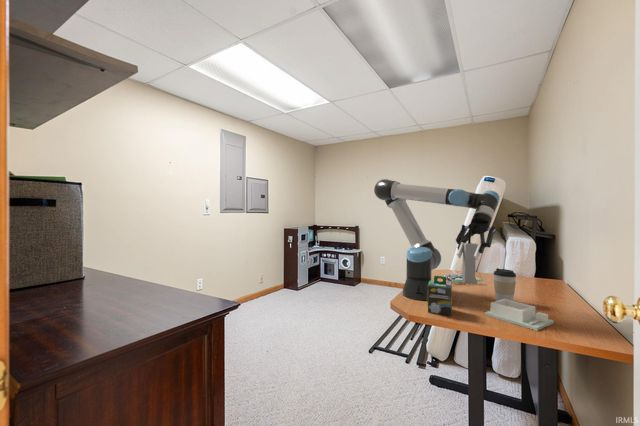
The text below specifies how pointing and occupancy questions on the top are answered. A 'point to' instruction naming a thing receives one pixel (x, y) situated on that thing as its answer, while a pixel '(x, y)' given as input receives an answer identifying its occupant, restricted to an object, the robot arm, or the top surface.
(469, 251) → the vintage mobile phone
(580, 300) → the top surface
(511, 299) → the coffee cup
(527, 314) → the architectural building model
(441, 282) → the chalk box
